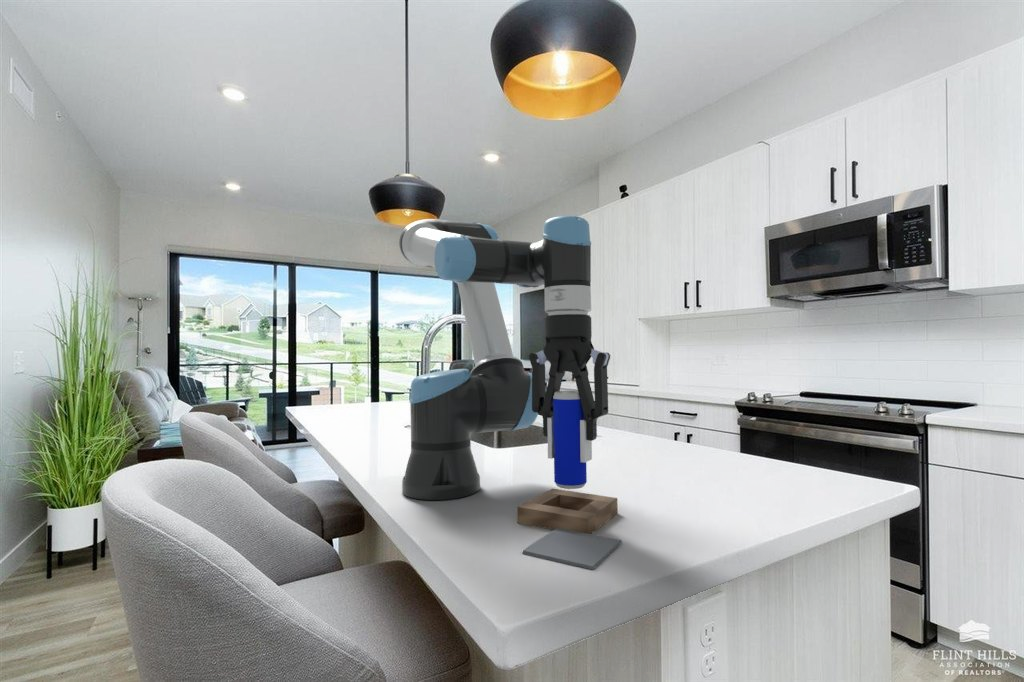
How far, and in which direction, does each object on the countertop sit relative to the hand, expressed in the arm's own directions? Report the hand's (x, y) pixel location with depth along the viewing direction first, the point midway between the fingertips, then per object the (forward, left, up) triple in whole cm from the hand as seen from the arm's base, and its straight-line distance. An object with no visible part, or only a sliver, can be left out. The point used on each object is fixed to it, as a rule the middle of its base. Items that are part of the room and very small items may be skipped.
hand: (569, 458), depth 81 cm
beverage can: (0, 0, -4) cm, 4 cm away
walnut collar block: (0, 0, -9) cm, 9 cm away
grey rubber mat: (+6, -11, -9) cm, 16 cm away
